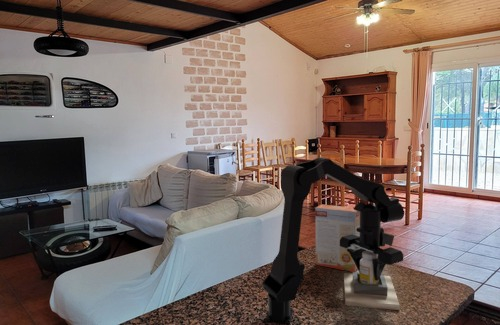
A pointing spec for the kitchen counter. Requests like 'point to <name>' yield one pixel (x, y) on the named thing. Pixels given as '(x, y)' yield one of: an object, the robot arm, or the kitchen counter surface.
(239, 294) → the kitchen counter surface
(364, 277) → the supplement bottle
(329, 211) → the cracker box
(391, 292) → the collar board
